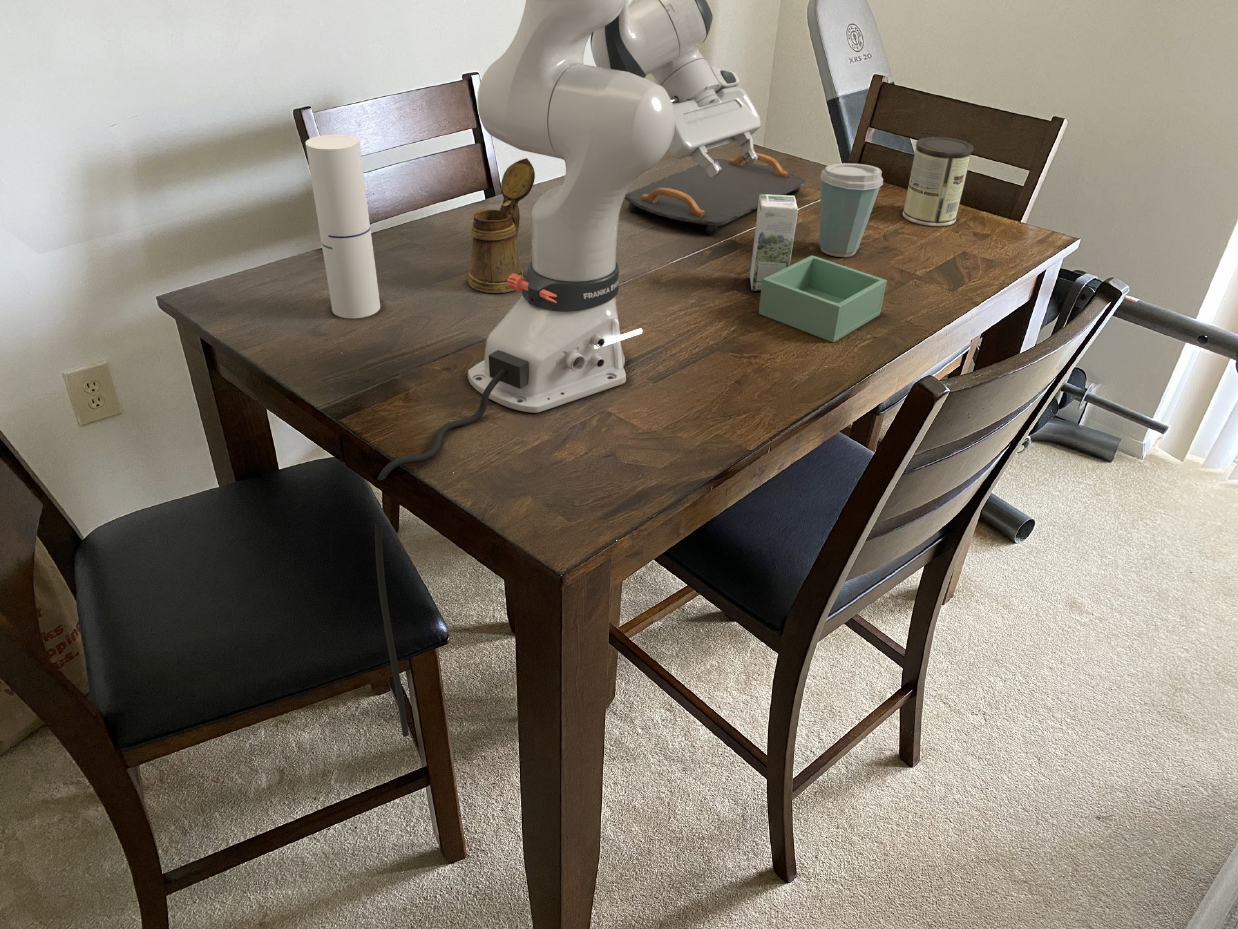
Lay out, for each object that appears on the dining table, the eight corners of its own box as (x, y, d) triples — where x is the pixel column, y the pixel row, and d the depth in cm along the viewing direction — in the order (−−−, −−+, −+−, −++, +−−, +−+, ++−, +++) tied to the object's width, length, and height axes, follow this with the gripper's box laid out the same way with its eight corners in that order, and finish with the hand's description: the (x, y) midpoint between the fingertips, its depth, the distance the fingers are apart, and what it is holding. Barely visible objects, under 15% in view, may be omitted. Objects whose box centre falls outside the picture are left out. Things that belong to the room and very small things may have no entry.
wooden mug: (551, 271, 156) (550, 163, 146) (499, 298, 147) (494, 185, 137) (510, 258, 160) (506, 152, 150) (457, 284, 151) (448, 173, 141)
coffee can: (911, 204, 189) (926, 133, 181) (962, 215, 184) (980, 142, 176) (894, 219, 182) (909, 145, 174) (947, 230, 177) (964, 155, 169)
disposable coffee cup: (796, 248, 168) (808, 164, 159) (834, 235, 174) (847, 153, 165) (843, 267, 161) (859, 180, 153) (881, 252, 167) (898, 168, 159)
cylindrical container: (368, 320, 139) (345, 151, 125) (323, 315, 140) (296, 146, 126) (387, 301, 145) (367, 136, 131) (344, 295, 146) (320, 132, 132)
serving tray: (711, 243, 168) (714, 210, 165) (610, 213, 180) (611, 181, 176) (813, 191, 194) (818, 161, 190) (720, 167, 205) (722, 138, 202)
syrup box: (783, 279, 156) (795, 193, 148) (786, 294, 151) (798, 206, 143) (749, 277, 157) (759, 191, 148) (751, 292, 152) (761, 204, 143)
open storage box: (833, 342, 138) (839, 306, 134) (758, 313, 145) (762, 278, 142) (880, 314, 146) (887, 280, 143) (806, 288, 153) (811, 255, 150)
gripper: (660, 90, 140) (706, 171, 140) (742, 70, 152) (784, 144, 153) (637, 115, 145) (681, 193, 145) (718, 94, 157) (759, 166, 158)
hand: (735, 168), depth 149 cm, fingers open, 8 cm apart
